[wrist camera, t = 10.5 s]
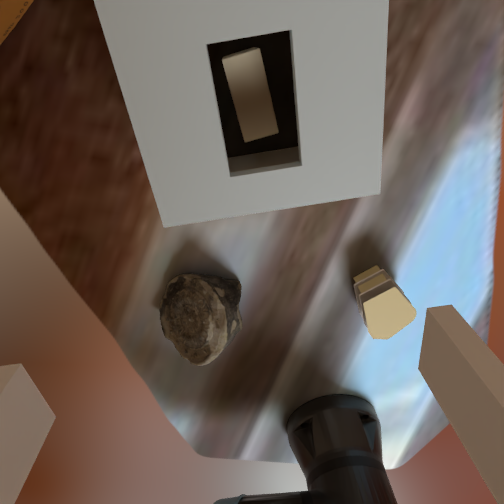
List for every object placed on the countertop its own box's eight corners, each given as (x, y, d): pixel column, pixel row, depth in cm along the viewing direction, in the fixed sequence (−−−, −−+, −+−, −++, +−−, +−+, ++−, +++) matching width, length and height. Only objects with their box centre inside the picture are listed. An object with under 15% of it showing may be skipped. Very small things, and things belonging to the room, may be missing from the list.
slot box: (337, 150, 36) (380, 193, 26) (182, 174, 36) (164, 227, 26) (333, -22, 29) (391, -56, 18) (141, 12, 29) (92, -3, 19)
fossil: (155, 262, 41) (188, 312, 34) (225, 248, 46) (268, 290, 38) (157, 334, 46) (187, 390, 39) (221, 315, 51) (258, 363, 44)
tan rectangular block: (270, 116, 34) (278, 132, 28) (242, 124, 34) (244, 142, 28) (253, 47, 31) (259, 48, 25) (223, 56, 31) (221, 60, 25)
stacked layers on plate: (323, 278, 45) (334, 306, 40) (388, 241, 42) (409, 267, 38) (357, 326, 49) (370, 356, 44) (418, 295, 47) (439, 324, 42)
